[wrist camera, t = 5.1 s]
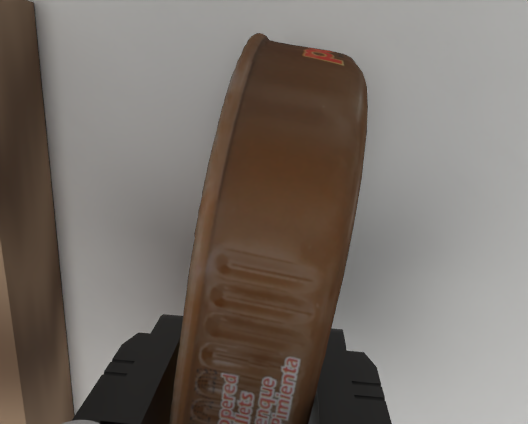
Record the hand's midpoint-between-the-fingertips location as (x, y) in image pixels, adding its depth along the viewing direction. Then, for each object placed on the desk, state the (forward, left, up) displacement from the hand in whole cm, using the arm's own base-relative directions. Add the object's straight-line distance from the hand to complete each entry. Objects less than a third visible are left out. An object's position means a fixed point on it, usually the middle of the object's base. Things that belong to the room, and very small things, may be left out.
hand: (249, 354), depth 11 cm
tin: (0, +1, -6) cm, 6 cm away
